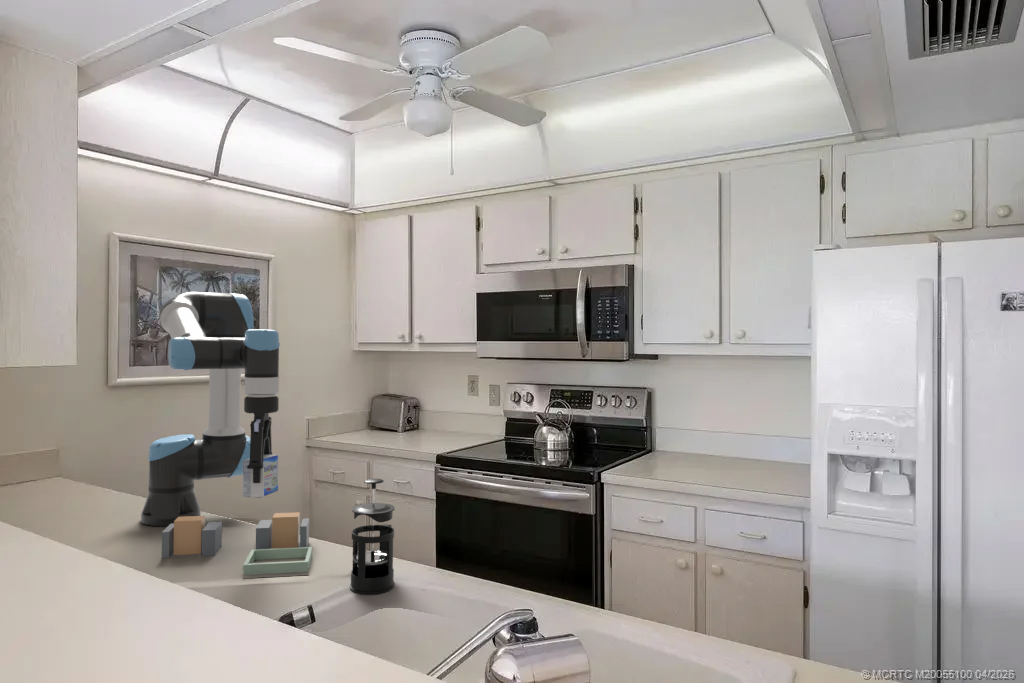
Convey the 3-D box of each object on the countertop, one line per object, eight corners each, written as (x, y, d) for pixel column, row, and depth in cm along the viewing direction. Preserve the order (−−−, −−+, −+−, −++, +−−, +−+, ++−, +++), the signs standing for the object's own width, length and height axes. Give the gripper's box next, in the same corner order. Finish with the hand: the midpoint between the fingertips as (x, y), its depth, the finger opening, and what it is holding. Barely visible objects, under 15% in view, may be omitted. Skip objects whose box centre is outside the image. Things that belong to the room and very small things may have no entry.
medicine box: (259, 498, 154) (259, 460, 154) (241, 497, 155) (242, 459, 155) (278, 491, 162) (278, 454, 162) (261, 490, 163) (262, 453, 163)
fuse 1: (178, 549, 164) (178, 516, 164) (204, 548, 165) (205, 515, 165) (173, 555, 160) (173, 521, 160) (200, 553, 161) (201, 520, 161)
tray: (251, 562, 158) (251, 549, 158) (312, 559, 161) (312, 546, 161) (243, 579, 148) (243, 565, 148) (308, 575, 151) (308, 561, 151)
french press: (378, 598, 139) (380, 486, 138) (339, 592, 142) (340, 482, 141) (406, 579, 150) (407, 475, 149) (369, 573, 153) (370, 471, 153)
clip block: (170, 552, 165) (170, 523, 165) (308, 545, 171) (309, 518, 171) (161, 562, 158) (162, 532, 158) (306, 555, 165) (306, 526, 164)
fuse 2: (274, 545, 168) (274, 513, 168) (299, 544, 169) (299, 512, 169) (271, 550, 164) (272, 517, 164) (297, 549, 166) (298, 516, 165)
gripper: (252, 392, 168) (252, 483, 168) (234, 399, 147) (234, 503, 147) (284, 392, 170) (283, 482, 170) (271, 399, 148) (270, 502, 148)
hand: (260, 492), depth 158 cm, fingers closed on medicine box, 9 cm apart
